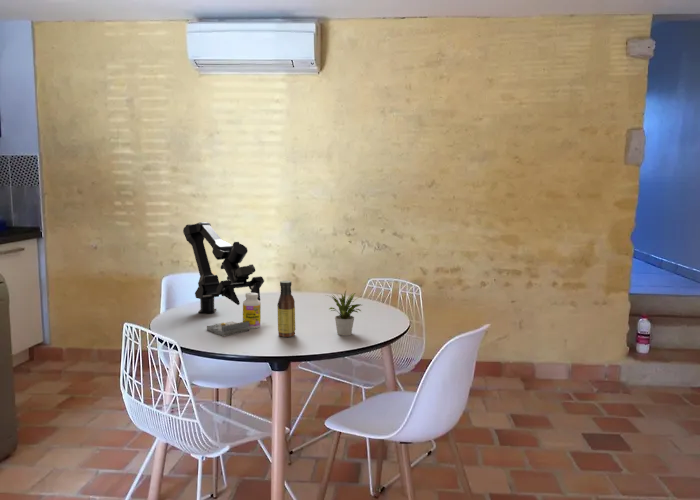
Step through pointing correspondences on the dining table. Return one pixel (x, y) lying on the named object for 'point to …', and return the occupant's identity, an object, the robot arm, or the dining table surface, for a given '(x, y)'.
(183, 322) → the dining table surface
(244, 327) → the coupler plate
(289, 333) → the sauce bottle
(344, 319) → the house plant
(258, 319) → the supplement bottle
